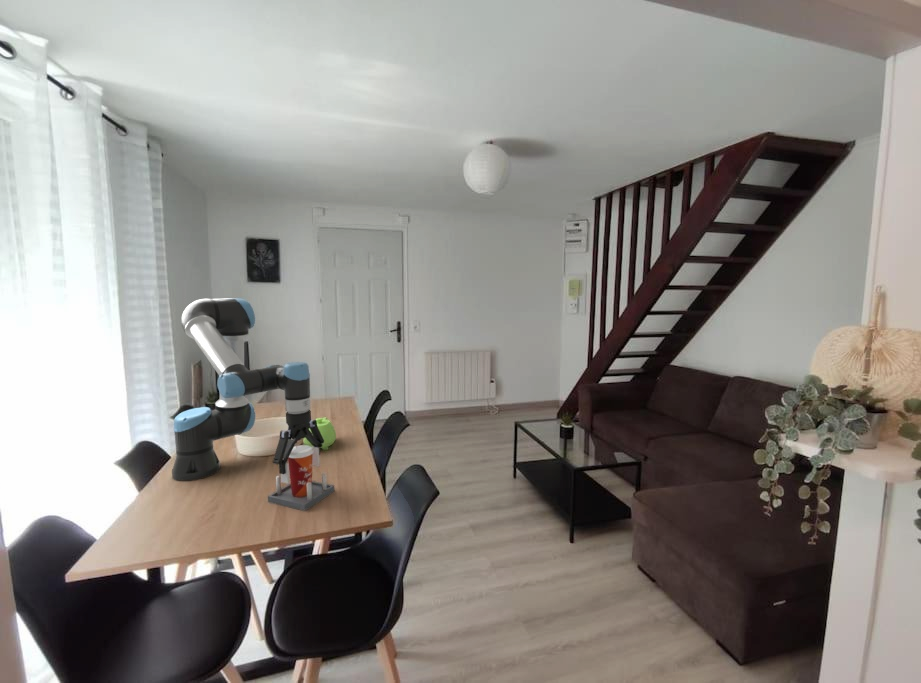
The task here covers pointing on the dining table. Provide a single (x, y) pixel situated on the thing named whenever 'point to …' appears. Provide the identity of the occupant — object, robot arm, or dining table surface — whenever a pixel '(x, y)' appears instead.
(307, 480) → the coffee cup
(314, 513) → the dining table surface
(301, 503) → the tray
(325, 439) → the teapot
